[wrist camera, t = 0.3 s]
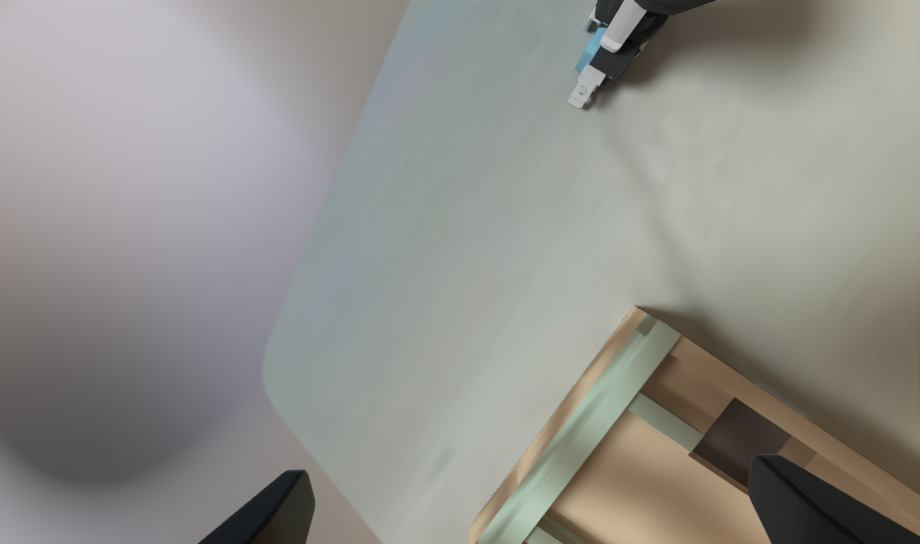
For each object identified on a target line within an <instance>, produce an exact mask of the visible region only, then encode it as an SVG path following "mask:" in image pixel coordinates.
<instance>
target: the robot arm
mask: <svg viewBox="0 0 920 544" xmlns="http://www.w3.org/2000/svg"><path fill="white" fill-rule="evenodd" d="M747 488H748V495H749V498H750V500H751V503H752V505H753V507H754V509H755V511H756V513H757V515H758V517H759V519H760V521H761V523H762V525H763V527H764V529H765V532H766V534H767V536H768V538H769V540H770V542H771V544H920V536H919V535H917V534H915V533H914V532H912V531H910V530H909V529H907V528H905V527H903V526H902V525H900V524H898V523H897V522H895V521H893V520H891V519H890V518H888V517H886V516H884V515H883V514H881V513H879V512H878V511H876V510H874V509H872V508H871V507H869V506H867V505H866V504H864V503H862V502H860V501H859V500H857V499H855V498H854V497H852V496H850V495H848V494H847V493H845V492H843V491H841V490H840V489H838V488H836V487H835V486H833V485H831V484H829V483H828V482H826V481H824V480H823V479H821V478H819V477H817V476H816V475H814V474H812V473H811V472H809V471H807V470H805V469H804V468H802V467H800V466H799V465H797V464H795V463H793V462H792V461H790V460H788V459H786V458H785V457H783V456H781V455H779V454H774V453H772V454H756V455H754V456H753V458H752V461H751V467H750V473H749V479H748V487H747ZM314 509H315V498H314V494H313V490H312V487H311V483H310V479H309V475H308V473H307V472H306V471H305V470H287V471H285V472H284V473H282V474H281V475H280V476H279V477H277V478H276V479H275V480H274V481H273V482H271V483H270V484H269V485H268V486H267V487H265V488H264V489H263V490H262V491H261V492H259V493H258V494H257V495H256V496H254V497H253V498H252V499H251V500H250V501H248V502H247V503H246V504H245V505H244V506H242V507H241V508H240V509H239V510H238V511H236V512H235V513H234V514H233V515H232V516H230V517H229V518H228V519H227V520H225V521H224V522H223V523H222V524H221V525H219V526H218V527H217V528H216V529H215V530H214V531H212V532H211V533H210V534H209V535H207V536H206V537H205V538H204V539H203V540H201V541H200V542H199V543H198V544H306V540H307V536H308V533H309V529H310V525H311V521H312V518H313V514H314Z"/></svg>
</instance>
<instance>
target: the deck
mask: <svg viewBox="0 0 920 544" xmlns="http://www.w3.org/2000/svg"><path fill="white" fill-rule="evenodd" d="M772 453H774V454H779V455H781V456H783V457H785V458H786V459H788V460H790V461H792V462H793V463H795V464H797V465H799V466H800V467H802V468H804V469H805V470H807V471H809V472H811V473H812V474H814V475H816V476H817V477H819V478H821V479H823V480H824V481H826V482H828V483H829V484H831V485H833V486H835V487H836V488H838V489H840V490H841V491H843V492H845V493H847V494H848V495H850V496H852V497H854V498H855V499H857V500H859V501H860V502H862V503H864V504H866V505H867V506H869V507H871V508H872V509H874V510H876V511H878V512H879V513H881V514H883V515H884V516H886V517H888V518H890V519H891V520H893V521H895V522H897V523H898V524H900V525H902V526H903V527H905V528H907V529H909V530H910V531H912V532H914V533H915V534H917V535H919V536H920V495H919V494H918V493H916V492H915V491H913V490H912V489H910V488H909V487H907V486H906V485H904V484H903V483H901V482H900V481H898V480H897V479H895V478H894V477H892V476H891V475H889V474H888V473H886V472H885V471H883V470H882V469H880V468H879V467H877V466H876V465H874V464H873V463H871V462H870V461H869V460H867V459H866V458H864V457H863V456H861V455H860V454H858V453H857V452H855V451H854V450H852V449H851V448H849V447H848V446H846V445H845V444H843V443H842V442H840V441H839V440H837V439H836V438H834V437H833V436H831V435H830V434H828V433H827V432H825V431H824V430H822V429H821V428H819V427H818V426H816V425H815V424H813V423H812V422H810V421H809V420H807V419H806V418H805V417H803V416H802V415H800V414H799V413H797V412H796V411H794V410H793V409H791V408H790V407H788V406H787V405H785V404H784V403H782V402H781V401H779V400H778V399H776V398H775V397H773V396H772V395H770V394H769V393H767V392H766V391H764V390H763V389H761V388H760V387H758V386H757V385H755V384H754V383H752V382H751V381H749V380H748V379H746V378H745V377H743V376H742V375H741V374H739V373H738V372H736V371H735V370H733V369H732V368H730V367H729V366H727V365H726V364H724V363H723V362H721V361H720V360H718V359H717V358H715V357H714V356H712V355H711V354H709V353H708V352H706V351H705V350H703V349H702V348H700V347H699V346H697V345H696V344H694V343H693V342H691V341H690V340H688V339H687V338H685V337H684V336H682V334H680V333H679V332H677V331H676V330H674V329H673V328H671V327H670V326H668V325H667V324H665V323H664V322H662V321H660V320H659V319H657V318H655V317H653V316H651V315H649V314H648V313H646V312H644V311H642V310H640V309H638V308H637V307H635V306H633V307H632V309H631V310H630V311H629V313H628V314H627V316H626V317H625V318H624V320H623V321H622V322H621V324H620V325H619V326H618V328H617V329H616V330H615V332H614V333H613V334H612V336H611V337H610V338H609V340H608V341H607V342H606V344H605V345H604V347H603V348H602V349H601V351H600V352H599V353H598V355H597V356H596V357H595V359H594V360H593V361H592V363H591V364H590V365H589V367H588V368H587V369H586V371H585V372H584V373H583V375H582V376H581V378H580V379H579V380H578V382H577V383H576V384H575V386H574V387H573V388H572V390H571V391H570V392H569V394H568V395H567V396H566V398H565V399H564V400H563V402H562V403H561V404H560V406H559V407H558V409H557V410H556V411H555V413H554V414H553V415H552V417H551V418H550V419H549V421H548V422H547V423H546V425H545V426H544V427H543V429H542V430H541V431H540V433H539V434H538V435H537V437H536V438H535V440H534V441H533V442H532V444H531V445H530V446H529V448H528V449H527V450H526V452H525V453H524V454H523V456H522V457H521V458H520V460H519V461H518V462H517V464H516V465H515V466H514V468H513V469H512V471H511V472H510V473H509V475H508V476H507V477H506V479H505V480H504V481H503V483H502V484H501V485H500V487H499V488H498V489H497V491H496V492H495V493H494V495H493V496H492V497H491V499H490V500H489V502H488V503H487V504H486V506H485V507H484V508H483V510H482V511H481V512H480V514H479V515H478V516H477V518H476V519H475V520H474V522H473V523H472V524H471V526H470V527H469V541H468V544H771V542H770V540H769V538H768V536H767V534H766V532H765V529H764V527H763V525H762V523H761V521H760V519H759V517H758V515H757V513H756V511H755V509H754V507H753V505H752V503H751V500H750V498H749V495H748V488H747V487H748V479H749V473H750V467H751V461H752V458H753V456H754V455H756V454H772Z"/></svg>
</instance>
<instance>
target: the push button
mask: <svg viewBox="0 0 920 544" xmlns="http://www.w3.org/2000/svg"><path fill="white" fill-rule="evenodd" d="M713 1H716V0H598V1H597V4H596V7H595V8H594V10H593V12H592V13H591V15H590V17H589V19H588V21H587V23H586V25H585V27H584V29H583V30H584V31H585V29H586V27H587V26H588V24H589V22H590V21H591V20H593V21H595V22H596V23H598V24H599V23H600V22H602V23H601V24H600V26H599V28H598V29H597V31H596V33H595V34H594V36H592V38H591V40H590V41H589V43H588V45H587V46H586V48H585V50H584V52H583V53H582V57H581V59H580V60H579V62H578V64H577V66H576V68H575V69H577V70H578V71H580V72H581V74H580V75H579V77H578V79H577V80H576V81H577V82H579V83H578V84H577V86H576V88H575V89H574V91H573V93H572V94H571V96H570V98H569V99H568V103H570V104H572V105H573V106H575V107H577V108H578V109H580V108H582V106H583V104H584V103H585V102H586V101H587V99H588V98H589V96H590V94H591V93H592V91H594V92H595V90H596V89H597V87H598V86H599V85H600V84H601V85H604V83H605V82H606V81H607V80H608V79H610V80H611V81H613V82H616V81H617V80H618V79H619V77H620V76H621V75H622V74H623V73H624V71H625V70H626V68H627V67H628V65H629V63H630V62H631V60H634V59H635V58H636V57H637V56H638V55H639V54H640V52H641V51H642V50H643V49H644V47H645V45H646V44H647V42H648V40H650V39H651V38H652V37H653V36H654V35H655V34H656V33H657V31H658V30H659V29H660V28H661V27H662V26H663V24H664V23H665V22H666V20H667V19H668V17H669V15H675V14H678V13H681V12H684V11H687V10H690V9H693V8H695V7H698V6H701V5H704V4H707V3H710V2H713ZM637 50H638V51H637ZM634 55H635V56H634ZM580 93H582V95H581V94H580Z"/></svg>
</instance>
